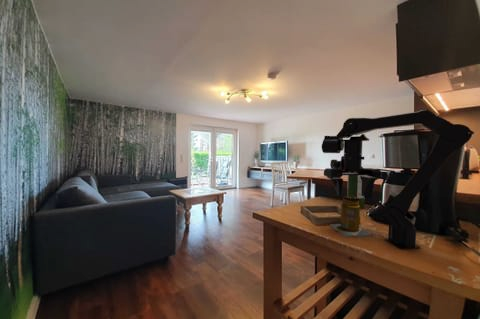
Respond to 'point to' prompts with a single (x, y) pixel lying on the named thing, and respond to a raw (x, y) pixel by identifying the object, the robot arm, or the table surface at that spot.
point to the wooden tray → (317, 220)
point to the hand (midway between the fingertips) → (351, 196)
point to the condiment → (350, 215)
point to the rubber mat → (361, 234)
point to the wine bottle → (355, 188)
